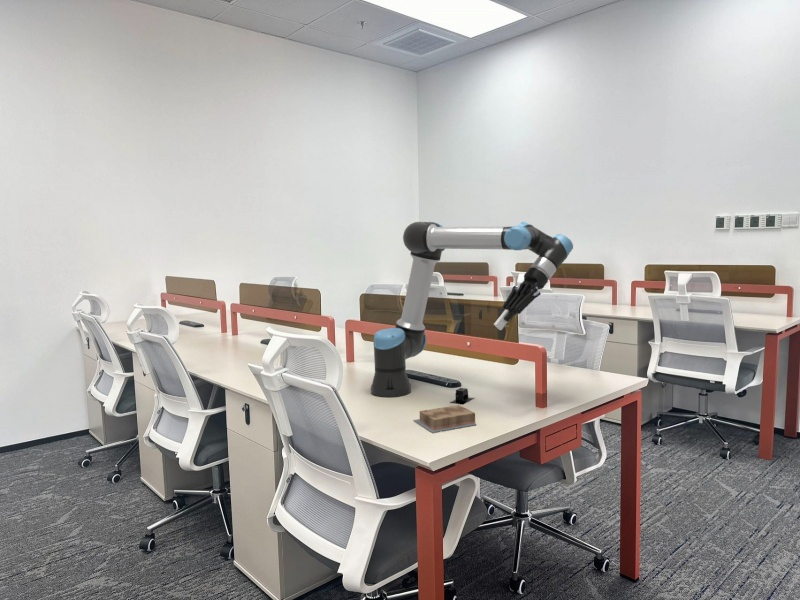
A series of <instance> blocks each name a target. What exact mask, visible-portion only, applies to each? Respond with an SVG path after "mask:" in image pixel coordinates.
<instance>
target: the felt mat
mask: <svg viewBox="0 0 800 600" xmlns="http://www.w3.org/2000/svg"><path fill="white" fill-rule="evenodd" d="M412 421H413V422H414V423H416V424H417V425H419V426H420V427H422V428H424V429H426V431H428V430H429V431H428V432H430V433H431V432H432V433H431V434H434V433H433V432H436V433H441V432H440V431H442V432H447V431H452V429H453V430H458V429H462V428H463V427H464V428H468V427H469V428H470V427H473V426H474V425H475V426H477V424H476V422H475V423H470V424H465V425H459V426H454V427H448V428H443V429H437V430H434V429H432V428H431V427H429V426H427V425H426V424H424V423H423V422H421V421H420V418H417V419H413V420H412ZM457 428H458V429H457ZM464 428H463V429H464ZM446 430H447V431H446Z"/></svg>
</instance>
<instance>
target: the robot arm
mask: <svg viewBox="0 0 800 600" xmlns="http://www.w3.org/2000/svg"><path fill="white" fill-rule="evenodd" d="M403 231H404V232H403V236H402V240H403V244H404V246H405V247H406V249H407V250H408V251H410V252H409V253H410V256H411V258H412V264H411V269H410V274H409V279H408V282H407V283H408V284H407V288H406V292H405V298H404V303H403V307H402V312H401V317H400V318H399V319H398V320H396V323H395V327H389V328H383V329H380V330H378V331H376V332H375V333H374V335H373V344H372V345H373V354H374V355H373V357H374V376H373V378H372V379H373V380H372V383H371V386H370V393H371V394H372V395H373V396H377V397H382V398H383V397H384V398H394V397H395V398H396V397H401V396H406V395H408V394H411V392H412V385H411V382H410V380H409V376H408V373H407V371H406V370H407V369H406V367H407V365H406V360H407V359H410V358H413V357H416V356H418V355H420V354H421V353H422V352H423V351H424V350H425V348H426V345H427V340H428V339H427V335H426V333H425V330H426V326H425V325H424V323H423V322H424V317H425V313H426V309H427V308H426V307H427V303H428V298H429V293H430V289H431V285H432V280H433V275H434V270H435V266H436V264H437V263H439V262H440V261H441V257H442V253H443V252H444V251H445V250H448V249H451V250H452V249H453V250H454V249H456V250H458V249H459V250H506V251H507V250H511V251H522V250H528V251H529V252H532V253H533V254H536V255H537V256H538V257H537V258H536V260H534V262H533V263H532V264H531V265H530V267H529V268H528V270H527V271H526V272H525V273H524V275H523V281H522V282H520V284H519V286H516V285H514V286H512V289H511V291H510V294H509V295H508V297H507V298H506V300H505V301H504V304H503V305H502V308H503V309H504V310H503V311H502V313H501V314H500V316H499V317H498V318H497V319H496V321H495V322H494V323H493V325H494V326H495V328H496V329H498V330H499V331H502V330H503V329H504V328H505V326H506V325H507V324H508V323H509V322H510V320H511V319H512V317H513V316H515V315H517V314H518V315H520V314H521V313H522V312H523V311H524V310H525V309H526V308H527V307H528V306H529V305H530V304H531V303H532V302H533V301H534V300H535V299H536V298H538V297H539V296H541V292H540V291H539V290H542V289H543V288H544V287H545V286H546V285H547V283H548V282H549V280H551V278H552V277H553V275H554V274H555V273H556V271H558V269H559V268H560V267H561V265H562V264H563V263H564V262H565V260H566V259H567V258H568V257H569V255H570V253H571V252H572V250H574V243H573V242H572V240H571V239H570V238H569V237H568V236H566V235H564V234H559V233H558V234H556V235H554V236H553V237H552V236H551V235H548V234H547V233H545V232H544V231H542V230H540V229H538V228H537V227H535V226H533V225H532V224H530V223H529V222H527V221H521V222H520V223H519V224H518V225H515V226H443V225H442V224H441V223H437V222H434V221H415V222H412V223H410V224H409V225H408V226H406V228H405V229H404V230H403Z"/></svg>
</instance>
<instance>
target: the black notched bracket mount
mask: <svg viewBox="0 0 800 600" xmlns="http://www.w3.org/2000/svg"><path fill="white" fill-rule="evenodd" d="M454 395H455V396H454V397H455V399H453V400H452V401H449V404H455V405H460V406H461V405H462V406H464V405H465V404H467V403H469V402H471V401H473V400H474V399H475V397H469V388H466V387H459V388H458V389H455V393H454Z"/></svg>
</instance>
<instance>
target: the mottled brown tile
mask: <svg viewBox="0 0 800 600" xmlns="http://www.w3.org/2000/svg"><path fill="white" fill-rule="evenodd" d="M419 419H420V421H421V422H423V423H424V424H426V425H427V426H429V427H431V428H432V429H434V430H437V429H443V428H448V427H454V426H459V425H465V424H470V423H475V424H476V413H475V412H474V411H472V410H469V409H468V408H466V407H464V406H463V405H462V406H461V405H460V404H455V405H449V406H444V407H436V408H432V409H425V410H420V411H419Z"/></svg>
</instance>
